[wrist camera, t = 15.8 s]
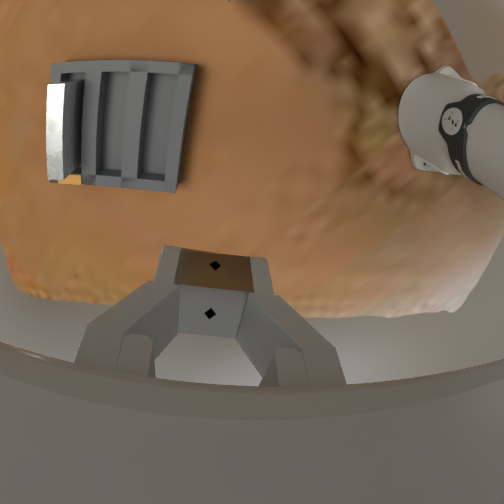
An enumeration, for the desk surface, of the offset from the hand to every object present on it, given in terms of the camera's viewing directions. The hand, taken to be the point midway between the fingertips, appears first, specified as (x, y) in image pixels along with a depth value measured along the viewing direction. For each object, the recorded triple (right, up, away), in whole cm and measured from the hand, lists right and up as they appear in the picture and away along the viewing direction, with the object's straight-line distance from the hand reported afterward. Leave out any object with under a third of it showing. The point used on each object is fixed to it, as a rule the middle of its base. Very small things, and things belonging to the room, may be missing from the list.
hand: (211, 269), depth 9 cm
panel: (-22, +18, +24) cm, 38 cm away
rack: (-17, +18, +26) cm, 36 cm away
